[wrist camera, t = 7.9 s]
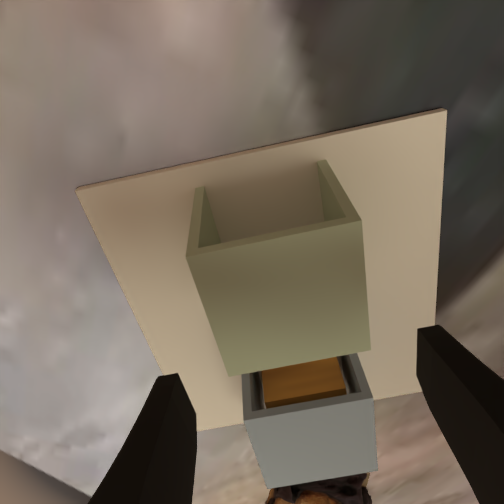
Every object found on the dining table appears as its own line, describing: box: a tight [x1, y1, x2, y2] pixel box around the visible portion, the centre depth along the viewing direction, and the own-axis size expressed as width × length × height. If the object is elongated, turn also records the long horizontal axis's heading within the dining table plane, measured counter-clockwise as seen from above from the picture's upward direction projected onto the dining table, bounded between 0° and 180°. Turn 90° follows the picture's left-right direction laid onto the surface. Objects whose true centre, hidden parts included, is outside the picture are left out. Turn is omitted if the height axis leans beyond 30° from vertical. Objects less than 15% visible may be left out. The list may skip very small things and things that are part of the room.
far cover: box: [241, 353, 378, 489], centre depth 22 cm, size 6×6×6 cm
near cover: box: [186, 159, 371, 377], centre depth 17 cm, size 6×6×6 cm
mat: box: [75, 108, 447, 431], centre depth 22 cm, size 18×16×1 cm
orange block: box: [262, 357, 347, 409], centre depth 23 cm, size 4×4×4 cm
